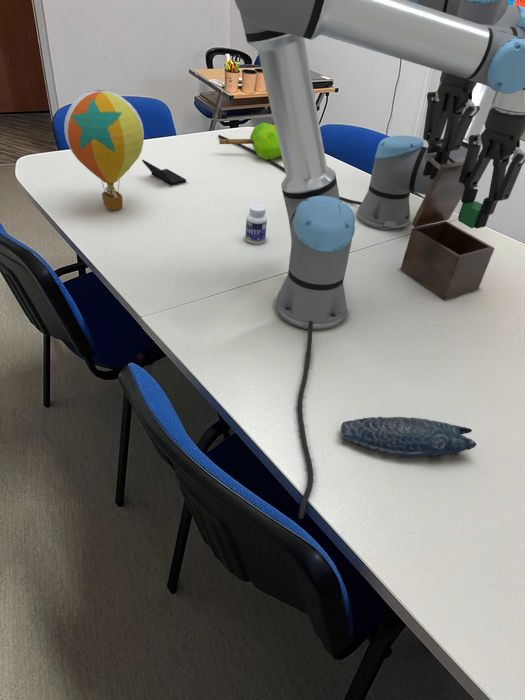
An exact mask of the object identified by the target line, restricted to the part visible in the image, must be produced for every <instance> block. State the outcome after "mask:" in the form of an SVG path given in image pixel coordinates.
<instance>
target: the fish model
mask: <svg viewBox="0 0 525 700" xmlns="http://www.w3.org/2000/svg"><path fill="white" fill-rule="evenodd" d="M472 431H473V429H471V428H470V427H466V426H460V425H456V424H450V423H448V422H443V421H437V420H431V419H427V418H421V417H420V418H419V417H405V416H392V417H387V416H386V417H385V416H377V417H375V416H373V417H372V416H371V417H363V418H358V419H353V420H347V421H343V422H342V423H341V425H340V432H341V434H340V439H343V440H347V441H349V442H353V443H354V444H355V445H359V446H361V447H363V448H367V449H370V450H371V451H375V452H380V453H383V454H385V453H387V454H389V455H391V456H399V457H407V458H413V457H423V456H427V457H430V458H439V457H440V456H441V455H445V454H451V455H454V456H457V455H459V454H460V453H461V452H464V451H468V450H472V449H474V448H475V447H476V446H477V443H476V441H474V440H473V439H472V438H469V437H467V436H465V435H464V434H470V433H471V432H472Z"/></svg>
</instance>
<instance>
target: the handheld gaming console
mask: <svg viewBox="0 0 525 700" xmlns="http://www.w3.org/2000/svg"><path fill="white" fill-rule="evenodd" d="M141 161H142V163H143V164H144V165H145V167H147V169H148V170H149V171H150V172H151V174H150V175H151V176H153V177H155V178H156V179H158V180H160V181H162V182H163V183H165V184H167V185H168V186H170V187H172V186H177V185H180V184H184V183H185V184H186V183H187V179H186V178H184V177H183V176H181V175H179V174H177V173H175V172H173V171H172V170H170V169H168V168H164V169H161V168H159V167H157V166H155V165H153V164H151V163H150V162H148V161H146V160H145V159H142V160H141Z"/></svg>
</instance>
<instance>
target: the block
mask: <svg viewBox="0 0 525 700" xmlns="http://www.w3.org/2000/svg"><path fill="white" fill-rule="evenodd" d="M482 204H483V203H482V202H480V201H477V200H475V201H474V202H470V203H465V204H464V205H463V208H462V211H461V214H460V217H459V219H457V221H458V222H459V223H460V224H463V225H465V226H467V227H468V228H470V229H476V228H475V227H474V226H475V223H476V220H477V218H478V215H479V212H480V209H481V206H482Z"/></svg>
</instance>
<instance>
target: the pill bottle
mask: <svg viewBox="0 0 525 700" xmlns="http://www.w3.org/2000/svg"><path fill="white" fill-rule="evenodd" d="M267 224H268V217H267V215H266V207H265V206H264V205H262V204H251V205H250V206H249V213H248V214H247V215H246V220H245V236H244V238H245V240H246V242H248V243H251V244H258V245H259V244H263V243H264V242H265V241H266V237H267Z"/></svg>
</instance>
